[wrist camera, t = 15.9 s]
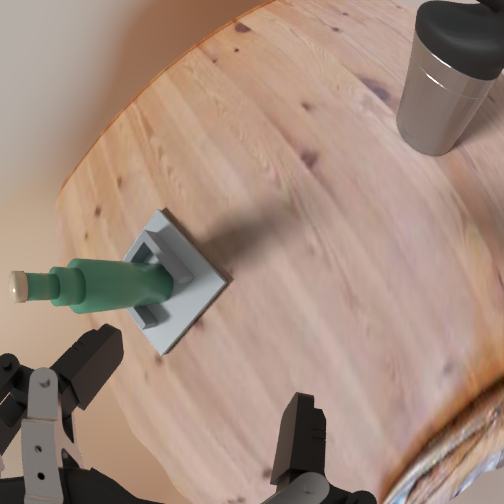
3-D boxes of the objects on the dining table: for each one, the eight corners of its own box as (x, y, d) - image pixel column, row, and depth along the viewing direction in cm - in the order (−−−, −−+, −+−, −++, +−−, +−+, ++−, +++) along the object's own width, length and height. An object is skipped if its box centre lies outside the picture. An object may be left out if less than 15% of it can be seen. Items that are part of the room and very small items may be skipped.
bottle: (157, 255, 39) (13, 240, 17) (180, 283, 37) (27, 289, 15) (137, 283, 40) (2, 284, 18) (158, 311, 38) (16, 332, 16)
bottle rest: (161, 210, 41) (145, 204, 37) (228, 282, 36) (214, 282, 32) (112, 282, 43) (96, 282, 39) (164, 354, 39) (148, 360, 35)
